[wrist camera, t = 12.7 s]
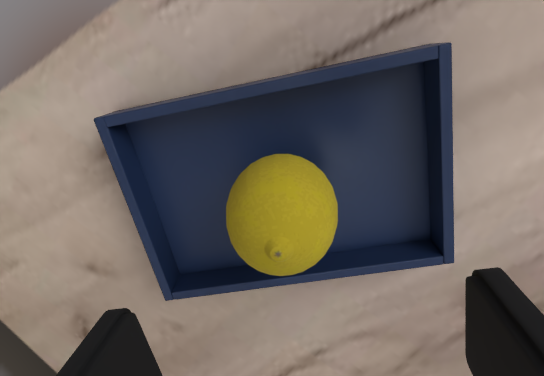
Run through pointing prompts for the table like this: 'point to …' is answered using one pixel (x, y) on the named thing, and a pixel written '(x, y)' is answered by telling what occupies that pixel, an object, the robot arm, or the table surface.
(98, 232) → the table surface
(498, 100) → the table surface
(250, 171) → the lemon
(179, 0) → the table surface
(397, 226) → the tray
